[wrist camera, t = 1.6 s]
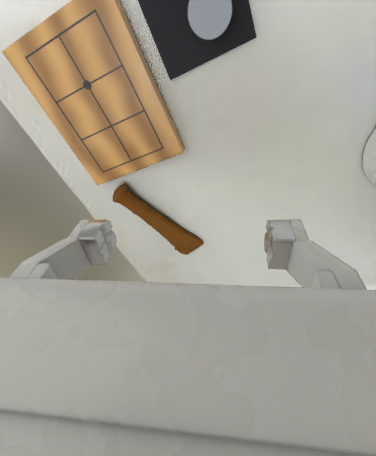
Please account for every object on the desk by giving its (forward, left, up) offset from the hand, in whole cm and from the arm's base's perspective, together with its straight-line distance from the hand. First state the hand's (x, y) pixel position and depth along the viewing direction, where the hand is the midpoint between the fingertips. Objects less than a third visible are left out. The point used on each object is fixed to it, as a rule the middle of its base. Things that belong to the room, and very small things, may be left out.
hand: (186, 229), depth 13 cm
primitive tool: (+15, +15, -27) cm, 34 cm away
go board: (+14, -6, -27) cm, 30 cm away
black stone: (-3, -9, -26) cm, 28 cm away
